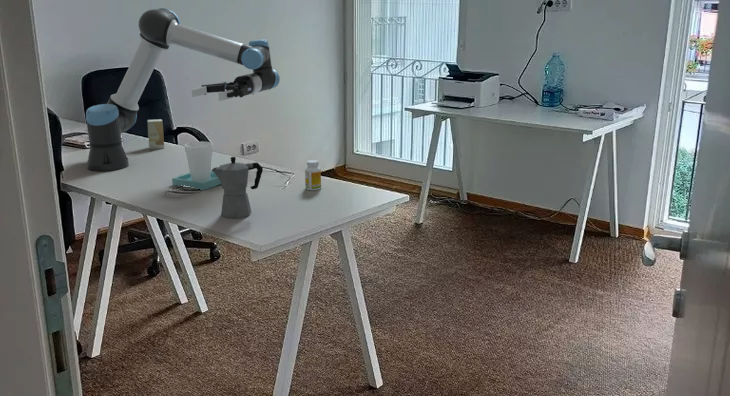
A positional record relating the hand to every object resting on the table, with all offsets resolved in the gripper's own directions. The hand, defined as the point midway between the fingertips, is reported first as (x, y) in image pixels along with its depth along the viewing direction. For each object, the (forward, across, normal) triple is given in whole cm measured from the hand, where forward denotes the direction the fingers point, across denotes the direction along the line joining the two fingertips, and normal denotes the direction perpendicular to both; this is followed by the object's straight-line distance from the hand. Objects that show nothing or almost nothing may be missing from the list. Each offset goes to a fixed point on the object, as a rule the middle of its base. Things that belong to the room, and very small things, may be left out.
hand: (205, 95), depth 243 cm
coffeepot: (+28, -40, -28) cm, 57 cm away
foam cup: (+10, -4, -28) cm, 31 cm away
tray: (+10, -4, -29) cm, 31 cm away
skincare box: (-18, +54, -32) cm, 65 cm away
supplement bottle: (-6, -42, -30) cm, 52 cm away
